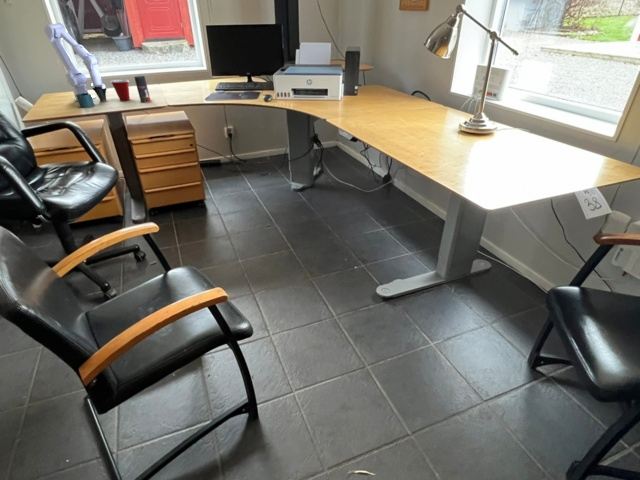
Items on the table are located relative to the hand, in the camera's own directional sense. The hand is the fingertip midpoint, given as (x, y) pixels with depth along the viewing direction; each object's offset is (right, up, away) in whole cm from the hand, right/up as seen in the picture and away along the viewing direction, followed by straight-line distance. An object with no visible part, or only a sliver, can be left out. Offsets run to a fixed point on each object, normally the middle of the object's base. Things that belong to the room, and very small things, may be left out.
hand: (102, 99), depth 247 cm
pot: (-4, -8, -9) cm, 13 cm away
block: (0, -1, +1) cm, 1 cm away
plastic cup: (+12, +1, +4) cm, 13 cm away
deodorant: (+29, -2, -2) cm, 29 cm away
